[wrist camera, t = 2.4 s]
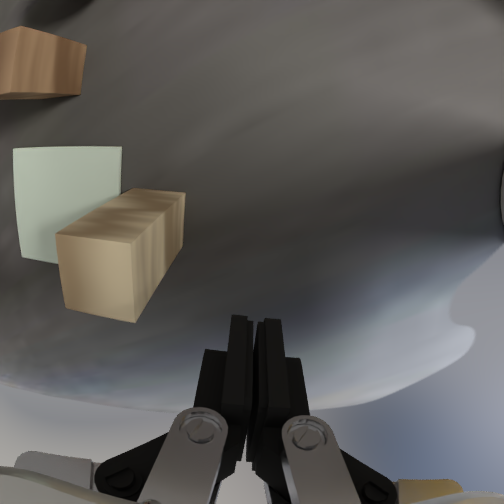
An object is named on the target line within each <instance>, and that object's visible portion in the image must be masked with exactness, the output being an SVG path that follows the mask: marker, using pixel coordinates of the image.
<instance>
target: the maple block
mask: <svg viewBox="0 0 504 504" xmlns="http://www.w3.org/2000/svg"><path fill="white" fill-rule="evenodd" d="M185 195H186V193H184V192H173V191H162V190H151V189H139V188H132V189H130V190H128V191H127V192H125V193H123V194H121V195H119V196H117V197H116V198H114V199H112V200H110V201H109V202H107V203H105V204H103V205H101V206H100V207H98V208H96V209H95V210H93V211H91V212H89V213H88V214H86V215H84V216H83V217H81V218H79V219H78V220H76V221H74V222H73V223H71V224H69V225H68V226H66V227H65V228H63V229H61V230H60V231H58V232H57V233H55V240H56V249H57V257H58V265H59V272H60V278H61V285H62V291H63V296H64V302H65V307H66V308H67V309H72V310H76V311H80V312H84V313H89V314H93V315H98V316H102V317H107V318H112V319H117V320H122V321H127V322H132V323H136V321H137V320H138V318H139V316H140V315H141V313H142V311H143V310H144V308H145V306H146V305H147V303H148V301H149V300H150V298H151V296H152V295H153V293H154V291H155V290H156V288H157V286H158V285H159V283H160V281H161V280H162V278H163V277H164V275H165V273H166V272H167V270H168V269H169V267H170V265H171V264H172V262H173V261H174V259H175V257H176V256H177V254H178V253H179V251H180V250H181V248H182V246H183V230H184V211H185Z"/></svg>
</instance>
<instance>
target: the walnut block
mask: <svg viewBox="0 0 504 504" xmlns="http://www.w3.org/2000/svg"><path fill="white" fill-rule="evenodd" d="M86 48H87V45H84V44H81V43H78V42H75V41H72V40H69V39H66V38H63V37H59V36H56V35H53V34H49V33H46V32H42V31H39V30H35V29H31V28H28V27H24V26H19V27H16V28H13V29H10V30H7V31H5V32H2V33H0V100H8V99H46V98H54V97H63V96H73V95H80V94H81V85H82V76H83V69H84V61H85V55H86Z"/></svg>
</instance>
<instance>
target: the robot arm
mask: <svg viewBox="0 0 504 504" xmlns="http://www.w3.org/2000/svg"><path fill="white" fill-rule="evenodd" d="M501 212H502V219H503V223H504V172H503V177H502V186H501ZM246 434H247V445H246V461H247V462H252V470H253V471H255V472H256V475H258V476H259V477H260V478H261V479H262V480H263V481H264V489H265V494H266V498H267V504H504V495H502V494H498V493H493V492H485V491H469V492H463V489H462V487H461V486H460V485H459V484H458V483H457V482H455V481H453V480H449V479H439V480H408V479H407V480H406V479H399V480H397V482H392V481H390V480H389V479H388V478H387V477H385V476H383V475H381V474H380V473H378V472H377V471H375V470H373V469H371V468H370V467H368V466H367V465H365V464H363V463H362V462H360V461H358V460H357V459H355V458H354V457H352V456H350V455H349V454H347V453H346V452H344V451H343V450H341V449H340V448H339V446H338V444H337V441H336V439H335V436H334V434H333V431H332V429H331V428H330V427H329V425H328V424H327V423H326V422H324V421H323V420H321V419H319V418H317V417H314V416H310V413H309V406H308V400H307V394H306V388H305V382H304V376H303V370H302V364H301V360H300V358H291V357H285V351H284V342H283V333H282V325H281V320H280V319H270V318H265V319H264V322H258V324H257V330H256V337H255V343H254V349H253V321H248V320H247V316H241V315H232V317H231V325H230V334H229V342H228V351H227V352H225V351H217V350H209V349H205V352H204V356H203V361H202V366H201V371H200V376H199V381H198V386H197V391H196V396H195V401H194V406H193V408H189V409H186V410H184V411H182V412H181V413H180V414H178V415H177V417H176V418H175V420H174V422H173V424H172V426H171V428H170V430H169V432H168V433H166V434H164V435H162V436H160V437H158V438H156V439H153V440H151V441H149V442H147V443H145V444H143V445H140V446H138V447H136V448H134V449H132V450H129V451H127V452H125V453H122V454H120V455H118V456H116V457H113V458H111V459H108V460H106V461H105V462H103V463H95V462H93V461H92V460H91V459H83V458H75V457H67V456H60V455H54V454H48V453H43V452H37V451H28V452H25V453H22V454H21V455H20V456H19V457H18V458H17V460H16V462H15V465H14V467H4V466H0V504H216V501H217V497H218V494H219V490H220V486H221V483H222V480H224V479H225V478H227V477H228V476H230V475H231V474H233V473H234V471H235V466H236V461H241V458H242V454H243V449H244V444H245V439H246Z"/></svg>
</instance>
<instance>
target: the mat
mask: <svg viewBox="0 0 504 504" xmlns="http://www.w3.org/2000/svg"><path fill="white" fill-rule="evenodd" d="M121 159H122V147H115V146H57V147H29V148H14V149H13V172H14V192H15V206H16V216H17V226H18V234H19V241H20V248H21V254H22V257H25V258H30V259H35V260H40V261H45V262H51V263H56V264H58V257H57V249H56V240H55V233H57V232H58V231H60V230H61V229H63V228H65V227H66V226H68V225H69V224H71V223H73V222H74V221H76V220H78V219H79V218H81V217H83V216H84V215H86V214H88V213H89V212H91V211H93V210H95V209H96V208H98V207H100V206H101V205H103V204H105V203H107V202H109V201H110V200H112V199H114V198H116V197H117V196H119V195H121Z"/></svg>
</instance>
